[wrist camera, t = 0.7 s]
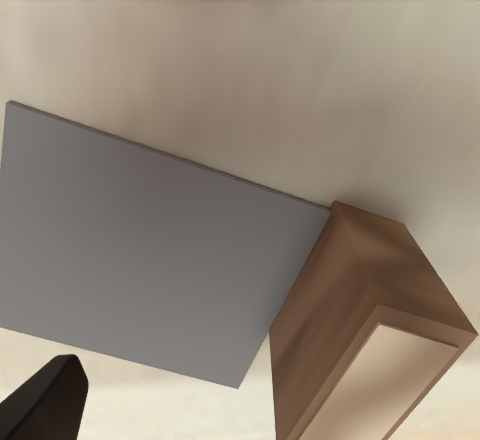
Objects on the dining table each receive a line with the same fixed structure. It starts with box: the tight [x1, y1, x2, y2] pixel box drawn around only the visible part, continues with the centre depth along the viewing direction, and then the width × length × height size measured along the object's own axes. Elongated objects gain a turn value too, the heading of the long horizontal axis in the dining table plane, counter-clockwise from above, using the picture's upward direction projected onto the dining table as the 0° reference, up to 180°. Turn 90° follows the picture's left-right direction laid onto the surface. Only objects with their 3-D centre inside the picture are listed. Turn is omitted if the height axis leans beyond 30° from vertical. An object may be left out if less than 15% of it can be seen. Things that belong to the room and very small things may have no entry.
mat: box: [0, 101, 331, 389], centre depth 23 cm, size 16×14×1 cm
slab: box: [269, 201, 478, 440], centre depth 20 cm, size 4×9×8 cm, turn 160°
